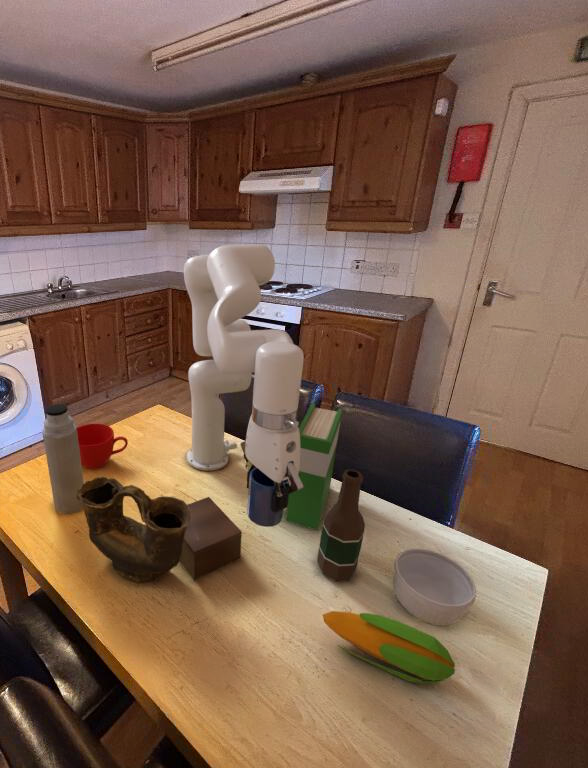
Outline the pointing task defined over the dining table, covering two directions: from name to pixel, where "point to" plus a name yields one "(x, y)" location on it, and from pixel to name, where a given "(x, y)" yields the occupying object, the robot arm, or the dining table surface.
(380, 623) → the corn
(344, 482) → the beer bottle
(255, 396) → the robot arm
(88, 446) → the ceramic cup
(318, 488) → the hardback book
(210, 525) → the box lid
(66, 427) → the thermos bottle
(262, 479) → the cup
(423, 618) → the ramekin
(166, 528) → the pottery vessel
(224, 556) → the box
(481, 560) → the dining table surface
